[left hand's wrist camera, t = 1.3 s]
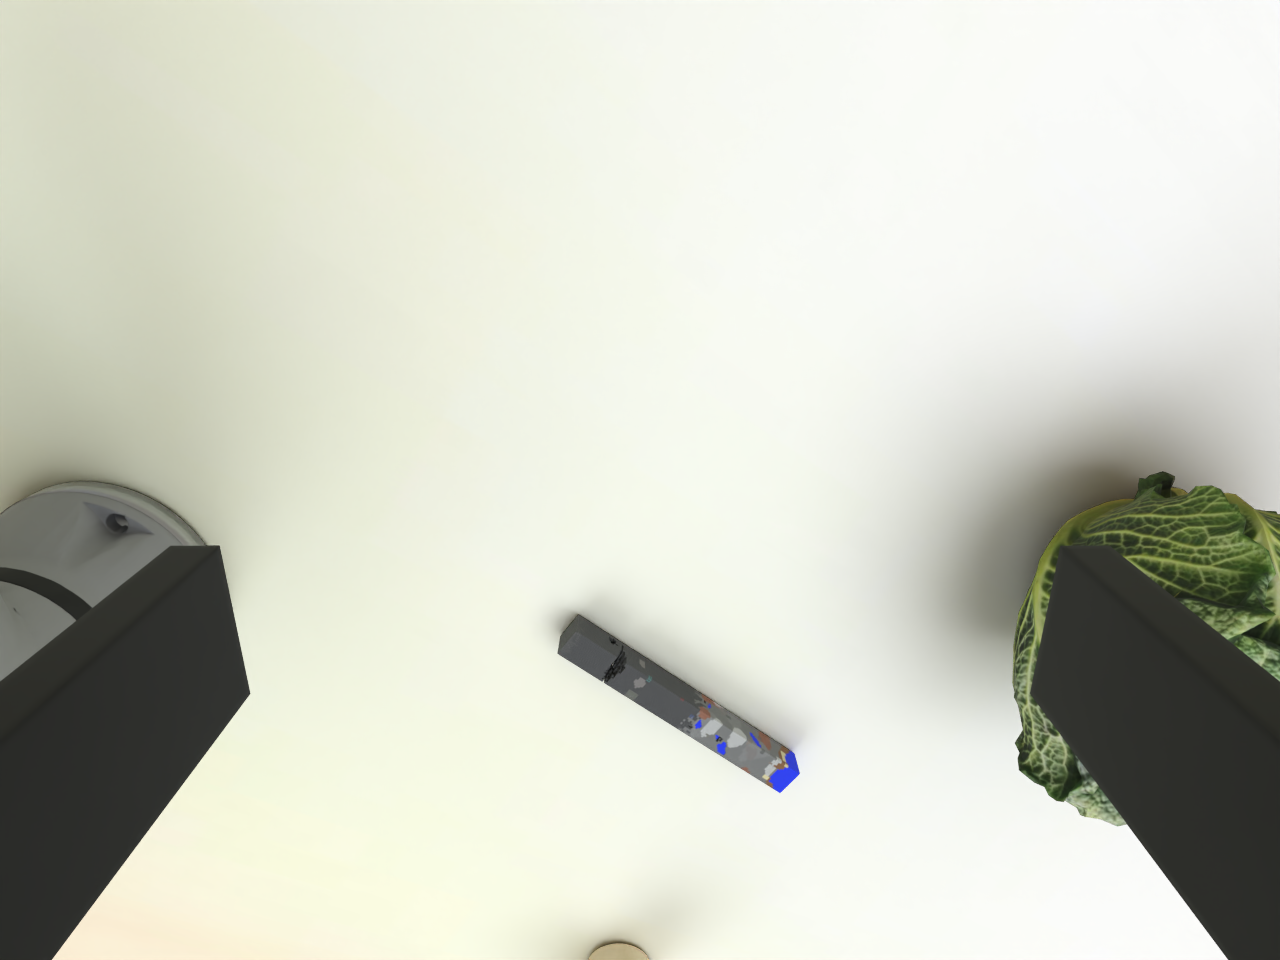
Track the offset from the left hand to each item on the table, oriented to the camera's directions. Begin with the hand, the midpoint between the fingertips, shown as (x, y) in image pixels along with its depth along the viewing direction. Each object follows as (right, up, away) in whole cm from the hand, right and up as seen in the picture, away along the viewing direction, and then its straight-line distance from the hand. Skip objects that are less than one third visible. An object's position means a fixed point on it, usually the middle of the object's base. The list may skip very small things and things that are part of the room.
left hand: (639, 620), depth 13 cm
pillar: (+3, -13, +45) cm, 47 cm away
